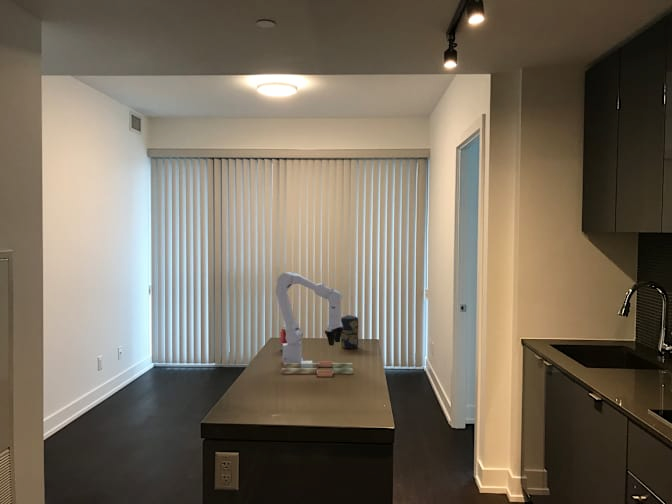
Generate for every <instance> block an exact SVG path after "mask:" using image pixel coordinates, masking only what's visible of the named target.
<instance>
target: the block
mask: <svg viewBox="0 0 672 504" xmlns="http://www.w3.org/2000/svg"><path fill="white" fill-rule="evenodd" d="M313 363H314V362H313V360H303V361H302V362H301V368H313Z"/></svg>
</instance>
